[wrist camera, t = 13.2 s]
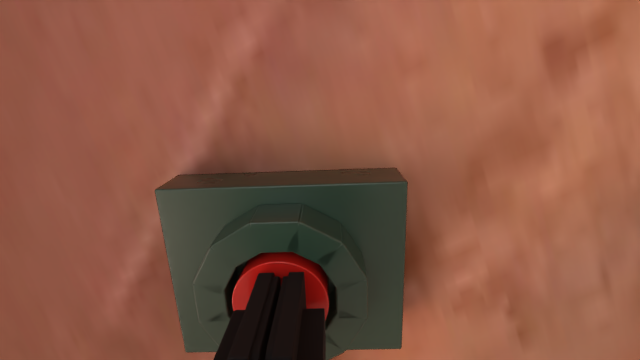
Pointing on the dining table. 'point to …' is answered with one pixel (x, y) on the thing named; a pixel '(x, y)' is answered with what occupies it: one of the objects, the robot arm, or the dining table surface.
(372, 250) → the box
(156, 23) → the dining table surface
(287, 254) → the button
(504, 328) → the dining table surface
